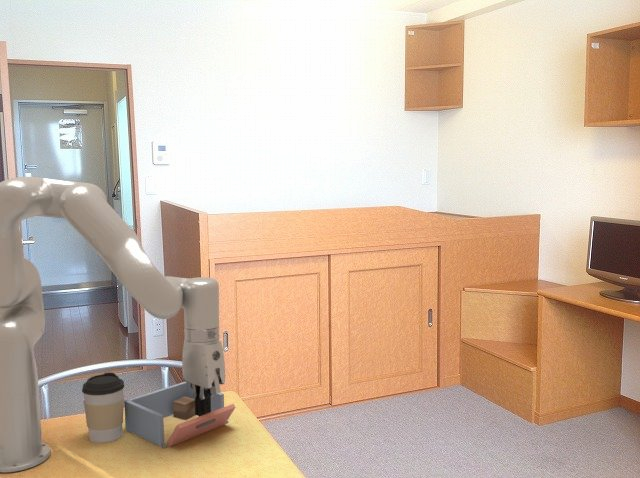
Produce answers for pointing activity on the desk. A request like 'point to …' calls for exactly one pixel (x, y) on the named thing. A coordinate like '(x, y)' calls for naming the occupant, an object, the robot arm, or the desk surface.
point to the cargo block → (184, 408)
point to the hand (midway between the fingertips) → (203, 414)
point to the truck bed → (159, 411)
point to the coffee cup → (104, 407)
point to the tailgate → (200, 425)
